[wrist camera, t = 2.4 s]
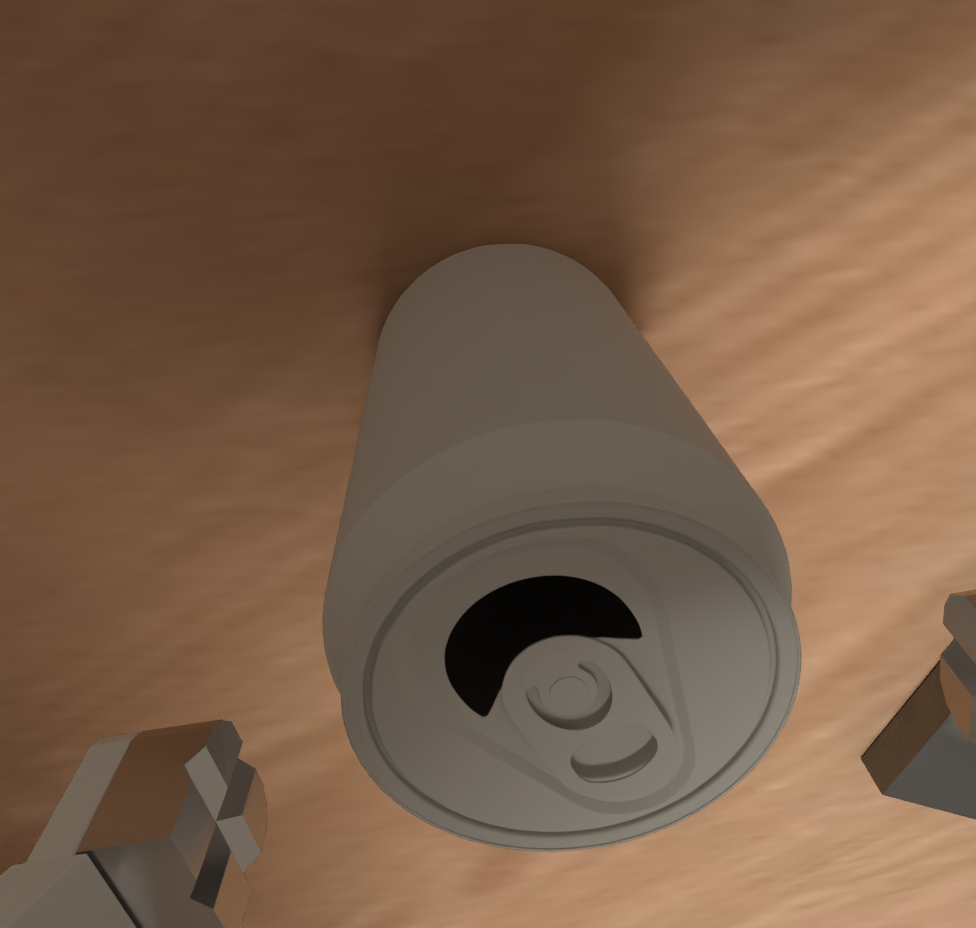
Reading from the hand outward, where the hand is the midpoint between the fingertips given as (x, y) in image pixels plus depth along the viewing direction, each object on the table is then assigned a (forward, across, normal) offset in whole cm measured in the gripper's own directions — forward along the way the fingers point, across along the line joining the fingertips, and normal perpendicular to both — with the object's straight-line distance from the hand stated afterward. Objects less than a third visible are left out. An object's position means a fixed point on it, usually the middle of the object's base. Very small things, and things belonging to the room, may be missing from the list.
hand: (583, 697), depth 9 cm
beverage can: (+12, +1, 0) cm, 13 cm away
